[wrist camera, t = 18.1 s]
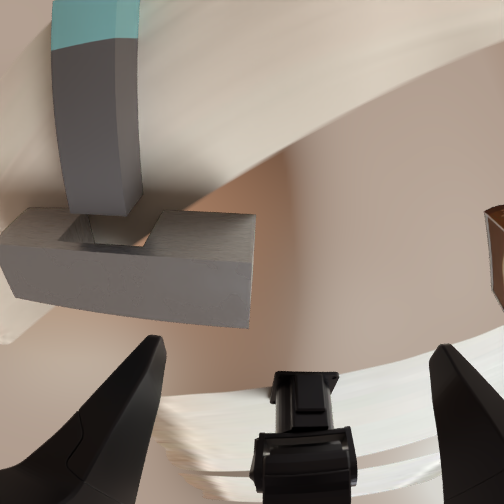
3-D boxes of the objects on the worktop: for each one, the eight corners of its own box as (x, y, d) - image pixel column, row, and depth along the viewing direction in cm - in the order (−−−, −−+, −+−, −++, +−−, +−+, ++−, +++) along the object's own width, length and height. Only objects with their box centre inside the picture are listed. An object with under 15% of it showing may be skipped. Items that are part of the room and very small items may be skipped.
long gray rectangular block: (252, 276, 23) (248, 328, 19) (44, 258, 23) (15, 297, 19) (255, 214, 20) (252, 262, 16) (27, 208, 20) (-9, 243, 16)
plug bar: (143, 193, 20) (126, 216, 17) (91, 192, 20) (70, 213, 17) (140, -9, 12) (118, -17, 10) (80, 4, 12) (52, 1, 10)
